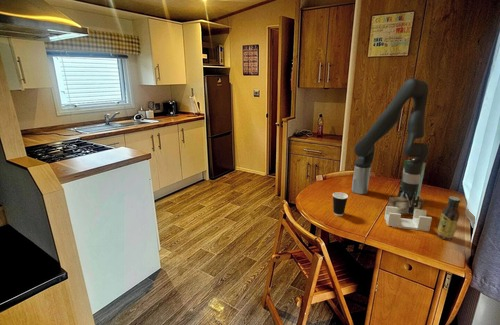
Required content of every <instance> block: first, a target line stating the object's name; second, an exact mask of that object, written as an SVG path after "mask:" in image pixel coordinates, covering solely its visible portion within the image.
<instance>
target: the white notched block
mask: <svg viewBox="0 0 500 325" xmlns="http://www.w3.org/2000/svg"><path fill="white" fill-rule="evenodd" d="M397 209H398V208H397V207H392V206H388V205H386V206H385V212H384V220H386V221H385V223H386V225H388V226H392V227H391V228H397V227H398V229H405V230H414V231H415V230H416V231H420V232H422V231H423V232H430V228H431V225H432V220H433V218H432V216H427V210H426V209H422V210H420V209H415V210H414V215H413V216H412V218H402V216H401V214H398V213H397ZM388 226H387V227H388Z"/></svg>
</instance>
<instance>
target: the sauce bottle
mask: <svg viewBox="0 0 500 325" xmlns="http://www.w3.org/2000/svg"><path fill="white" fill-rule="evenodd" d="M447 201H448V202H447V205H446V206H445V208H444V209H443V210H442V212H441V215H440V218H439V221H438V222H439V223H438V227H437V229H436V230H437V231H436V235H437V236H438V237H439V238H440V239H442V240H446V241H451V240H453V238H454V236H455V232H456V230H457V229H456V228H457V225H458V221H459V217H460V212H459V209H458V208H459V205H460V203H461V198H459V197H457V196H448V200H447Z"/></svg>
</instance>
